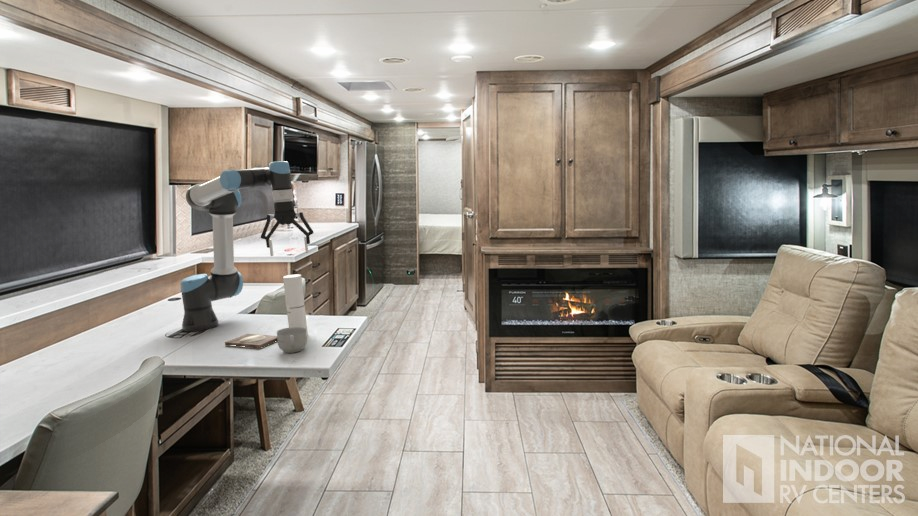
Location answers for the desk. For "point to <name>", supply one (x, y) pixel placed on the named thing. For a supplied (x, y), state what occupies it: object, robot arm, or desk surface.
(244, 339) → the board
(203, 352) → the desk surface
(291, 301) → the cylindrical container
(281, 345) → the teacup
